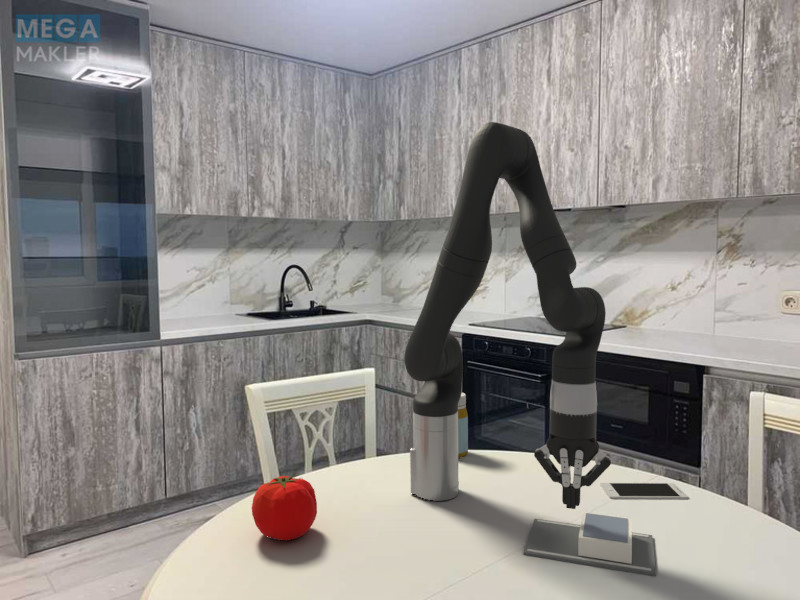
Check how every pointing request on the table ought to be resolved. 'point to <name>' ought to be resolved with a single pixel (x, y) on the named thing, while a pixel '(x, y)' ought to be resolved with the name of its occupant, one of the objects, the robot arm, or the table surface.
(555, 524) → the mat
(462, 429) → the bottle
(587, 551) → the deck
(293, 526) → the tomato
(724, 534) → the table surface
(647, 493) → the smartphone
